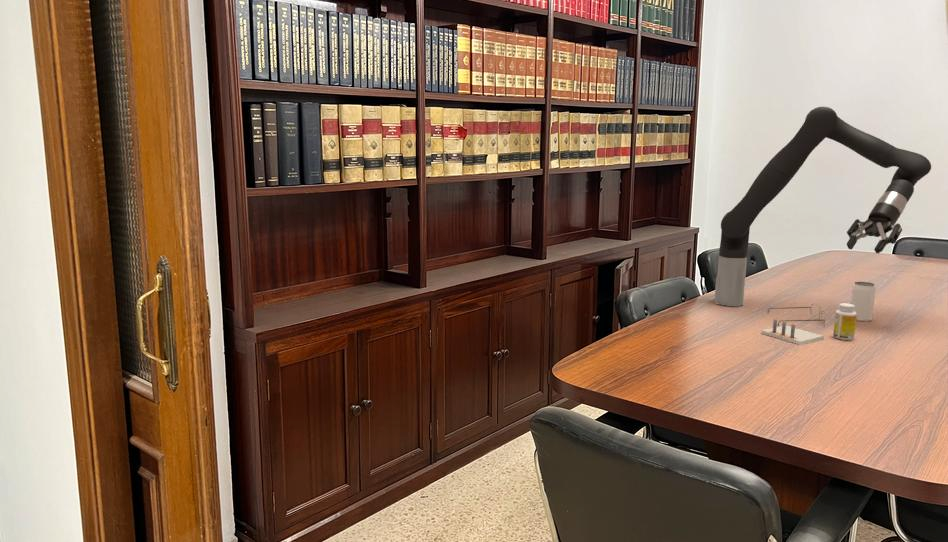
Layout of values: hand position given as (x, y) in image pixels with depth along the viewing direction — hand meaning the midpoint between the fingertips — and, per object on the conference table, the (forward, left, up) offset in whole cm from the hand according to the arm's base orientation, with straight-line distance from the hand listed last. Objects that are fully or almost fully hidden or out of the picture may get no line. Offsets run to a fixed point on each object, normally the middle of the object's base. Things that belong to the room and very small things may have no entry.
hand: (862, 249), depth 210 cm
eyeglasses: (-16, +1, -26) cm, 30 cm away
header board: (-15, -18, -25) cm, 34 cm away
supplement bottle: (-2, -13, -25) cm, 28 cm away
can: (+2, +13, -25) cm, 29 cm away
